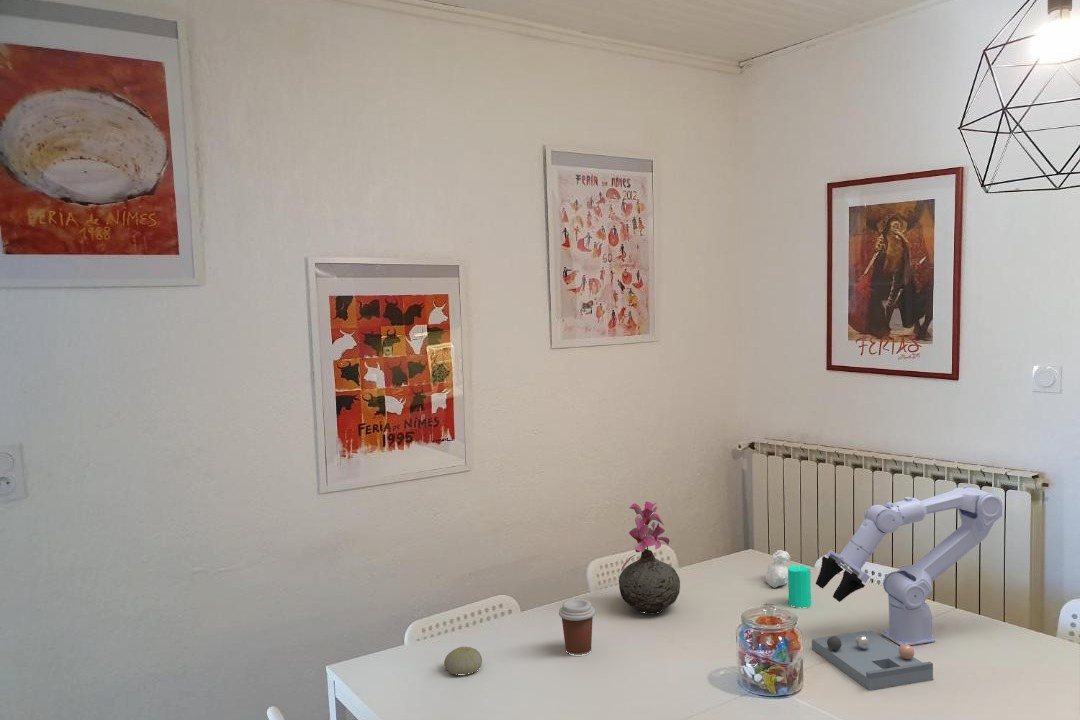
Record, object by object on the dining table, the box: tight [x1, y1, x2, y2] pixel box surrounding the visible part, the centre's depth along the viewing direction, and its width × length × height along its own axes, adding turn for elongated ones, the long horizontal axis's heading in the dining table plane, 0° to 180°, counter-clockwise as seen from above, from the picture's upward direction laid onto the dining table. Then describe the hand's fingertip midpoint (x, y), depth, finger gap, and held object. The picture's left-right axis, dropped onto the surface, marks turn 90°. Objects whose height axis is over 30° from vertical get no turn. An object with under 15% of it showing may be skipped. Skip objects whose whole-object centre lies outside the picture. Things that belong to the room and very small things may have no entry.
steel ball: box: [855, 635, 870, 649], centre depth 183 cm, size 3×3×3 cm
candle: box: [787, 564, 812, 608], centre depth 217 cm, size 6×6×12 cm
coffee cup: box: [558, 598, 596, 655], centre depth 194 cm, size 9×9×12 cm
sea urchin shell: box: [443, 646, 483, 675], centre depth 187 cm, size 9×8×8 cm
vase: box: [618, 500, 681, 614], centre depth 218 cm, size 17×18×30 cm
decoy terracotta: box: [898, 644, 915, 659], centre depth 177 cm, size 3×3×3 cm
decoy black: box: [827, 635, 842, 650], centre depth 183 cm, size 3×3×3 cm
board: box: [811, 630, 934, 691], centre depth 181 cm, size 16×22×4 cm
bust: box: [764, 549, 791, 589], centre depth 235 cm, size 12×8×11 cm
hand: (827, 592), depth 191 cm, fingers open, 7 cm apart
